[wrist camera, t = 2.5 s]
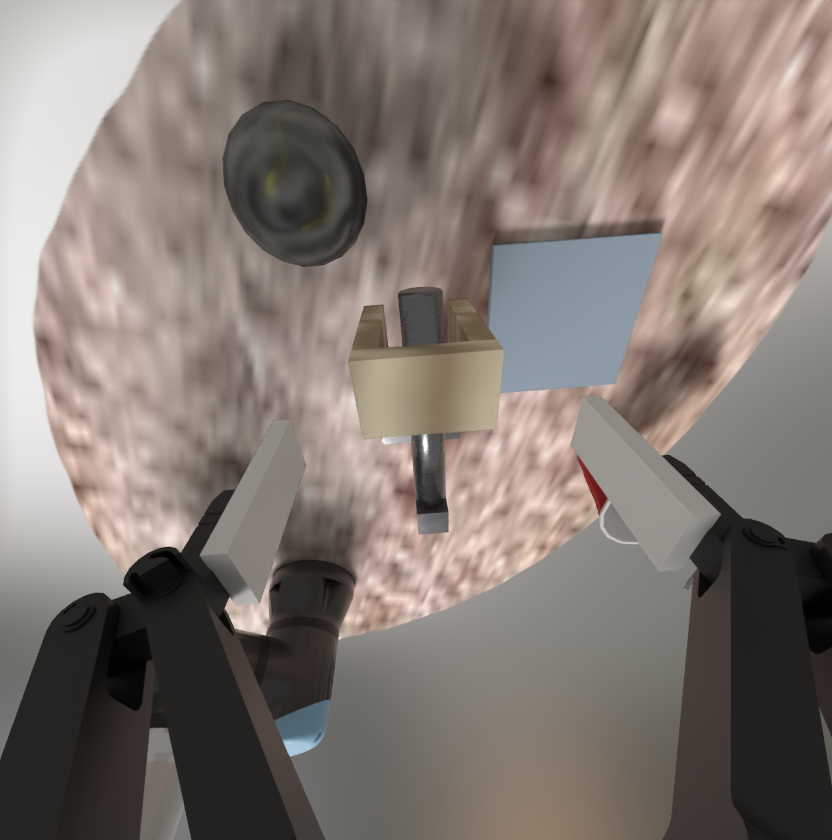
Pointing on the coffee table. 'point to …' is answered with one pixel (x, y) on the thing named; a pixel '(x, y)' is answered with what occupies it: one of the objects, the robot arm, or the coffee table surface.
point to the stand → (428, 450)
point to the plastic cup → (608, 512)
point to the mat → (567, 308)
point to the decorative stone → (294, 183)
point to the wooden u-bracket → (426, 377)
